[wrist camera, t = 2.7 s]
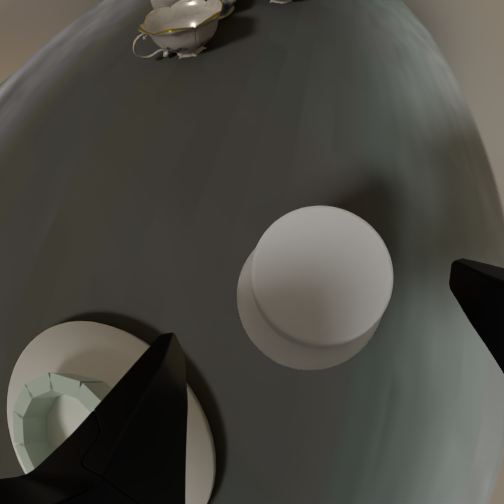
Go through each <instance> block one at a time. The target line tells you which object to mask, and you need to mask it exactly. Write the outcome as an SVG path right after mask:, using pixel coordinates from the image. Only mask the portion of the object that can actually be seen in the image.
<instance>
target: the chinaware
mask: <svg viewBox="0 0 504 504" xmlns="http://www.w3.org/2000/svg"><path fill="white" fill-rule="evenodd" d="M235 2H236V0H151V3H152V6H153V8H154V10H152V11H150V12H149V13H148V14H147V15H146V17H145V21H144V23H143V24H140V25H139V28H138V30H139V31H140V32H142V33H143V34H141V35H139V36H138V37H137V38H136V39H135V40H134V43H133V51H134V53H135V55H136V56H137V57H139V58H141V59H148V58H151V57H153V56H154V55H155V54H156V53H158V52H160V51H164V52H163V57H167V56H169V54H170V52H174V53H177V54H178V56H180V57H179V59H180V58H182V57H190V56H195V57H196V56H197V54H198V53H200V52H201V51H202V50H203V49H206V47H203V46H204V45H205V44H206V43H207V42H208V41H209V40H210V39H211V38H212V36H213V35H214V33H215V31H216V29H217V25H218V20H220V19H222V18H225V17H227V16H229V15H230V14H231V13H233V11H234V10H235V7H234V4H235ZM270 2H275V3H281V4H283V3H287V2H293V1H291V0H270ZM145 35H146V36H145ZM148 35H149V36H150V37H151V38H152V39H153V41H154V42H155V43H156V44H157V45H158V46H160V47H161V48H163V49H159V50H157V51H156V52H154V53H153V54H151V55H149V56H141V55H139V54H138V53H137V52H136V48H135V47H136V43H137V41H138V39H139V38H140V37H143V39H144V40H146V38H147V36H148Z"/></svg>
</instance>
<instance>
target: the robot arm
mask: <svg viewBox="0 0 504 504" xmlns="http://www.w3.org/2000/svg"><path fill="white" fill-rule="evenodd" d="M449 286H450V289H451V291H452V293H453V294H454V296H455V298H456V299H457V301H458V302H459V304H460V306H461V308H462V309H463V311H464V313H465V314H466V316H467V318H468V319H469V321H470V323H471V324H472V326H473V327H474V329H475V330H476V332H477V333H478V334H479V336H480V337H481V339H482V340H483V342H484V343H485V345H486V346H487V348H488V349H489V351H490V352H491V354H492V355H493V357H494V359H495V360H496V362H497V363H498V365H499V367H500V368H501V370H502V371H503V373H504V268H501V267H497V266H493V265H489V264H485V263H480V262H476V261H472V260H468V259H464V258H462V259H458V260H456V261H454V262H453V263H452V265H451V273H450V280H449ZM187 418H188V394H187V380H186V364H185V356H184V353H183V350H182V348H181V346H180V344H179V341H178V339H177V337H176V335H175V334H174V333H166V334H161V335H160V336H159V337H158V338H157V339H156V340H155V341H154V342H153V343H152V344H151V346H150V347H149V348H148V349H147V350H146V351H145V352H144V353H143V355H142V356H141V357H140V358H139V359H138V360H137V361H136V362H135V363H134V365H133V366H132V367H131V368H130V369H129V370H128V371H127V372H126V374H125V375H124V376H123V377H122V378H121V379H120V380H119V382H118V383H117V384H116V385H115V386H114V387H113V388H112V389H111V391H110V392H109V393H108V394H107V395H106V396H105V397H104V398H103V400H102V401H101V402H100V403H99V404H98V405H97V406H96V408H95V409H94V411H92V412H91V413H90V414H89V415H88V417H87V418H86V419H85V420H84V421H83V422H82V423H81V424H80V425H79V427H78V428H77V429H76V430H75V431H74V432H73V433H72V434H71V435H70V436H69V437H68V438H67V439H66V440H65V441H64V442H63V443H62V444H61V445H60V446H59V447H57V448H56V449H55V450H54V451H53V452H52V453H51V454H50V455H49V456H48V457H47V458H46V459H45V460H44V461H43V462H42V463H41V464H40V465H38V466H37V467H36V468H35V469H34V470H32V471H31V472H29V473H27V474H25V475H22V476H19V477H13V478H5V479H0V504H185V489H186V443H187Z"/></svg>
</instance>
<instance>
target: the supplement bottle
mask: <svg viewBox="0 0 504 504" xmlns="http://www.w3.org/2000/svg"><path fill="white" fill-rule="evenodd" d="M392 289H393V266H392V261H391V257H390V254H389V252H388V249H387V247H386V245H385V243H384V241H383V240H382V238H381V237H380V235H379V234H378V233H377V232H376V231H375V229H374V228H373V227H372V226H371V225H370V224H368V223H367V222H366V221H365V220H363V219H362V218H360V217H359V216H357V215H355V214H353V213H351V212H349V211H346V210H344V209H340V208H337V207H331V206H310V207H303V208H300V209H297V210H294V211H291V212H289V213H288V214H286V215H284V216H282V217H281V218H279V219H278V220H277V221H275V222H274V223H273V224H272V225H271V226H270V227H269V228H268V229H267V230H266V232H265V233H264V234H263V236H262V237H261V239H260V240H259V242H258V244H257V246H256V248H255V249H254V250H253V252H252V253H251V254H250V256H249V257H248V259H247V260H246V262H245V264H244V266H243V268H242V271H241V273H240V277H239V281H238V287H237V305H238V312H239V315H240V319H241V322H242V325H243V327H244V329H245V331H246V333H247V334H248V336H249V338H250V339H251V341H252V342H253V343H254V344H255V346H256V347H257V348H258V349H259V350H260V351H261V352H262V353H264V354H265V355H266V356H267V357H268V358H270V359H271V360H273V361H274V362H276V363H278V364H280V365H283V366H286V367H289V368H293V369H299V370H320V369H326V368H330V367H332V366H336V365H338V364H340V363H343V362H345V361H347V360H348V359H350V358H351V357H353V356H354V355H356V354H357V353H358V352H359V351H360V350H361V349H362V348H363V347H364V346H365V345H366V344H367V343H368V342H369V341H370V339H371V338H372V336H373V335H374V333H375V331H376V329H377V327H378V325H379V323H380V320H381V317H382V315H383V313H384V311H385V310H386V308H387V305H388V303H389V300H390V298H391V294H392Z"/></svg>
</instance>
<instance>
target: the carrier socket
mask: <svg viewBox="0 0 504 504" xmlns="http://www.w3.org/2000/svg"><path fill="white" fill-rule="evenodd" d="M149 347H150V345H149V344H148V343H146V342H145V341H143V340H142V339H140V338H138V337H136V336H134V335H132V334H130V333H129V332H126V331H123V330H121V329H118V328H115V327H112V326H109V325H105V324H100V323H96V322H88V321H74V322H66V323H63V324H59V325H56V326H54V327H51V328H49V329H47V330H45V331H44V332H42V333H41V334H39V335H38V336H37V337H36V338H35V339H33V340H32V341H31V342H30V343H29V344H28V346H27V347H26V348H25V349H24V351H23V352H22V354H21V355H20V357H19V359H18V361H17V363H16V365H15V367H14V370H13V372H12V376H11V379H10V383H9V389H8V396H7V416H8V425H9V431H10V436H11V440H12V443H13V447H14V450H15V452H16V455H17V458H18V460H19V462H20V464H21V466H22V468H23V470H24V472H25V474H27V473H29V472H31V471H32V470H34V469H35V468H36V467H37V466H38V465H40V464H41V463H42V462H43V461H44V460H45V459H46V458H47V457H48V456H49V455H50V454H51V453H52V452H53V451H54V450H55V449H56V448H57V447H59V446H60V445H61V444H62V443H63V442H64V441H65V440H66V439H67V438H68V437H69V436H70V435H71V434H72V433H73V432H74V431H75V430H76V429H77V428H78V427H79V425H80V424H81V423H82V422H83V421H84V420H85V419H86V418H87V417H88V415H89V414H90V413H91V412H92V411H94V409H95V408H96V406H97V405H98V404H99V403H100V402H101V401H102V400H103V398H104V397H105V396H106V395H107V394H108V393H109V392H110V391H111V389H112V388H113V387H114V386H115V385H116V384H117V383H118V382H119V380H120V379H121V378H122V377H123V376H124V375H125V374H126V372H127V371H128V370H129V369H130V368H131V367H132V366H133V365H134V363H135V362H136V361H137V360H138V359H139V358H140V357H141V356H142V355H143V353H144V352H145V351H146V350H147V349H148V348H149ZM187 394H188V418H187V443H186V489H185V504H207V503H208V501H209V499H210V497H211V493H212V490H213V487H214V483H215V475H216V452H215V446H214V440H213V436H212V432H211V429H210V426H209V423H208V420H207V417H206V415H205V413H204V411H203V409H202V406H201V404H200V402H199V401H198V399H197V397H196V395H195V394H194V392H193V390H192V389H191V387H190V386H189V384H188V383H187Z"/></svg>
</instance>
